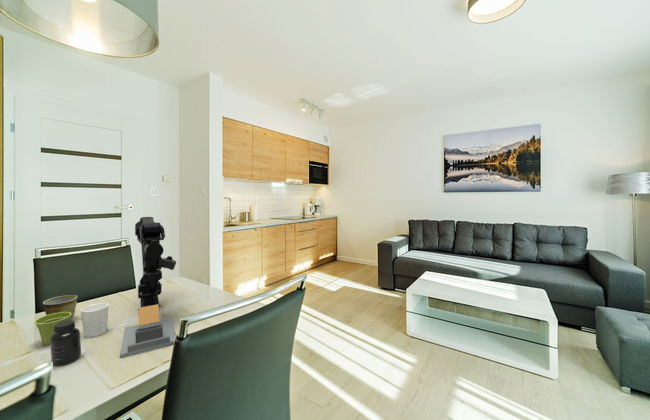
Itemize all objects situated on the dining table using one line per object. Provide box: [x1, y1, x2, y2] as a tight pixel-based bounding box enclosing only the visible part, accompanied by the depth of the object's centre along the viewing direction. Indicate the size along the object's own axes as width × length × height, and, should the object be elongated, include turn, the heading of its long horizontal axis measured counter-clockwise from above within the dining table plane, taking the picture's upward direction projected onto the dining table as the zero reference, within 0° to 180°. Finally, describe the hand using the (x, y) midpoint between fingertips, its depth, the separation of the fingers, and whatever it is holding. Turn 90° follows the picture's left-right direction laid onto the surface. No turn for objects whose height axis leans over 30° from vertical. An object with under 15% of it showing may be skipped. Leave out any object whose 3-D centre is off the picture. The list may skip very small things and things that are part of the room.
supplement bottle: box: [49, 319, 82, 367], centre depth 86 cm, size 7×7×12 cm
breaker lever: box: [137, 304, 161, 330], centre depth 97 cm, size 2×7×7 cm, turn 122°
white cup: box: [80, 302, 109, 338], centre depth 102 cm, size 8×8×10 cm
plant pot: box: [33, 312, 71, 346], centre depth 97 cm, size 9×9×9 cm
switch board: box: [119, 317, 177, 359], centre depth 100 cm, size 21×16×5 cm
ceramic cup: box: [42, 294, 78, 320], centre depth 110 cm, size 13×10×10 cm
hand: (153, 291), depth 111 cm, fingers open, 8 cm apart
